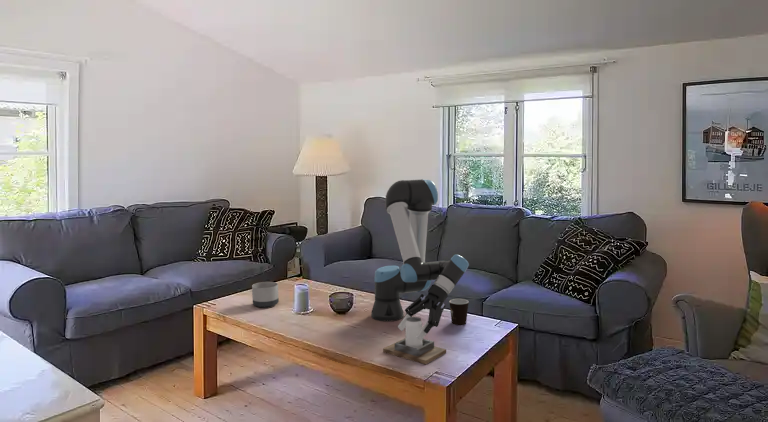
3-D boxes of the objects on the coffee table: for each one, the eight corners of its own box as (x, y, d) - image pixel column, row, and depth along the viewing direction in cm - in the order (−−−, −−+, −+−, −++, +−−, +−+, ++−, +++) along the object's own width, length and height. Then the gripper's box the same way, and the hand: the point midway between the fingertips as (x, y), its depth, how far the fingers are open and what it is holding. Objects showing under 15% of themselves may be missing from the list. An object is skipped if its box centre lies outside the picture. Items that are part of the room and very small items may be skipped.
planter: (275, 308, 273) (275, 288, 271) (250, 309, 273) (249, 288, 271) (281, 301, 285) (280, 281, 284) (256, 301, 285) (255, 281, 284)
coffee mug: (468, 326, 243) (468, 304, 242) (448, 325, 245) (448, 303, 243) (469, 318, 254) (469, 297, 253) (450, 317, 256) (450, 296, 255)
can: (411, 345, 218) (411, 315, 216) (425, 348, 214) (425, 318, 212) (402, 350, 212) (402, 319, 211) (416, 353, 209) (416, 322, 207)
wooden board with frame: (383, 352, 214) (382, 342, 214) (404, 341, 225) (404, 332, 225) (425, 364, 202) (425, 354, 202) (446, 352, 213) (446, 343, 212)
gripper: (466, 302, 209) (433, 349, 203) (427, 288, 229) (397, 330, 223) (455, 290, 205) (421, 337, 199) (417, 277, 226) (386, 319, 220)
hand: (409, 334), depth 211 cm, fingers open, 12 cm apart
